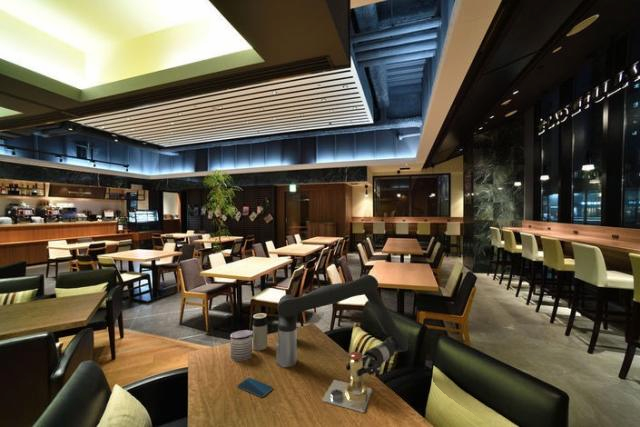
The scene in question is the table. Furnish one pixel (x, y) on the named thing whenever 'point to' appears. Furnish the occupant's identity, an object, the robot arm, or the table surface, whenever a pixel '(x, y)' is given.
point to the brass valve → (355, 365)
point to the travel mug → (259, 331)
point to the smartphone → (255, 387)
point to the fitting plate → (347, 396)
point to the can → (241, 345)
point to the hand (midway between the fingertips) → (352, 370)
